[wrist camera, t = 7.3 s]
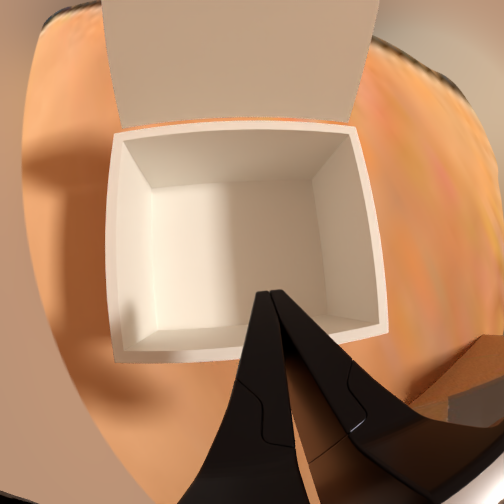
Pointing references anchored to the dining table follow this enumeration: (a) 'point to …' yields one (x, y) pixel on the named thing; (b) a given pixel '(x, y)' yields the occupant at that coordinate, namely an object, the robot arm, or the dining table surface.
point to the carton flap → (236, 58)
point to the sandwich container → (469, 387)
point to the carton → (237, 235)
